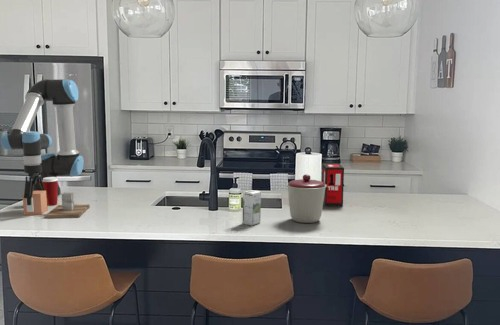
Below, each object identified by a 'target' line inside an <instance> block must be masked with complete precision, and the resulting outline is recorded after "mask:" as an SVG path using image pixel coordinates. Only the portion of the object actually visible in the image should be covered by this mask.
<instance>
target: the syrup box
mask: <svg viewBox="0 0 500 325" xmlns="http://www.w3.org/2000/svg"><path fill="white" fill-rule="evenodd" d="M261 203H262V192H261V191H260V190H255V189H254V190H253V189H250V190H246V191H243V192H242V224H243V225H248V226H251V227H252V226H256V225H259V224H261V207H262V206H261Z"/></svg>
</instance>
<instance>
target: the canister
mask: <svg viewBox="0 0 500 325" xmlns="http://www.w3.org/2000/svg"><path fill="white" fill-rule="evenodd" d="M285 186H286V187H287V196H288V206H289V214H290V217H291V219H292V221H294V222H297V223H300V224H301V223H302V224H314V223H316V222H318V221H320V219H321V217H322V214H323V208H324V203H323V201H324V194H325V188H326V187H327V185H326V184H324V183H323V182H322V180H316V179H311V176H310V174H303V176H302V178H301V179H293V180H291V181H289V182H287V183H286V185H285Z"/></svg>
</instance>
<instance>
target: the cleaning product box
mask: <svg viewBox="0 0 500 325" xmlns="http://www.w3.org/2000/svg"><path fill="white" fill-rule="evenodd" d="M344 177H345V167H343V166H342V165H341V164H340V163H333V162H331V163H330V162H329V163H327V162H325V163H323V162H322V163H321V182H323V183H324V184H326V185H327V187H326V188H325V194H324V201H323V206H325V207H343V206H344V182H345V180H344V179H345V178H344Z"/></svg>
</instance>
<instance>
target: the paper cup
mask: <svg viewBox="0 0 500 325" xmlns="http://www.w3.org/2000/svg"><path fill="white" fill-rule="evenodd" d="M42 181H43V185H44V189H45V191H46V198H47V207H52V206H53V207H54V206H58V201H59V200H58V195H59V194H58V185H59V182H58V181H59V179H58V176H56V177H46V178H43V180H42Z"/></svg>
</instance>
